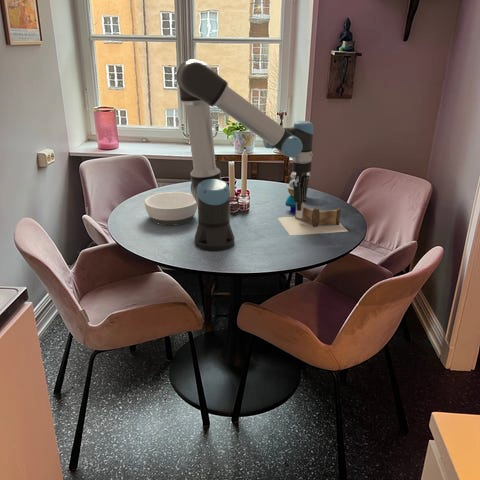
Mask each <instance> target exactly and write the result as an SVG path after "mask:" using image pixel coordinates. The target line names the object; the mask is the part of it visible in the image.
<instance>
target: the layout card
mask: <svg viewBox="0 0 480 480" xmlns="http://www.w3.org/2000/svg"><path fill="white" fill-rule="evenodd" d="M277 219H278V221H279V223H280V224H281V225H282V226H283V228H284V229H285V231H286V232H287V233H288V234H289V236H290V237H291V236H302V235H304V236H305V235H306V236H307V235H318V234H330V233H333V234H334V233H345V232H348V229H347V228H345V226H344V225H342V223H340V224H339V225H335V224H330V225H318V227H313V226H312V224H310V223H308V222H305V221H303V220H300V219H298V218H295V216H281V217H277Z"/></svg>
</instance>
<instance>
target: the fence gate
mask: <svg viewBox="0 0 480 480" xmlns="http://www.w3.org/2000/svg"><path fill="white" fill-rule="evenodd" d="M296 205H297V203H296ZM294 217H295V218H297V217H296V211H295V213H294ZM298 219H300V220H303V221H305V222H308V223H310V224H312V223H313V208H310V207H308V206H307V207H306V206H305V205H304V210H303V218H298Z"/></svg>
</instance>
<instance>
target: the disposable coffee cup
mask: <svg viewBox="0 0 480 480" xmlns="http://www.w3.org/2000/svg"><path fill="white" fill-rule="evenodd" d="M310 173H311V172H308V173H307V175H309V180H308V185H309V184H310V178H311V177H312V176H311V174H310ZM295 176H296V172H294V171H292V172H291V174H290V181H291V180H293V179H295ZM308 189H309V186H308V187H307V190H308Z"/></svg>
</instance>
